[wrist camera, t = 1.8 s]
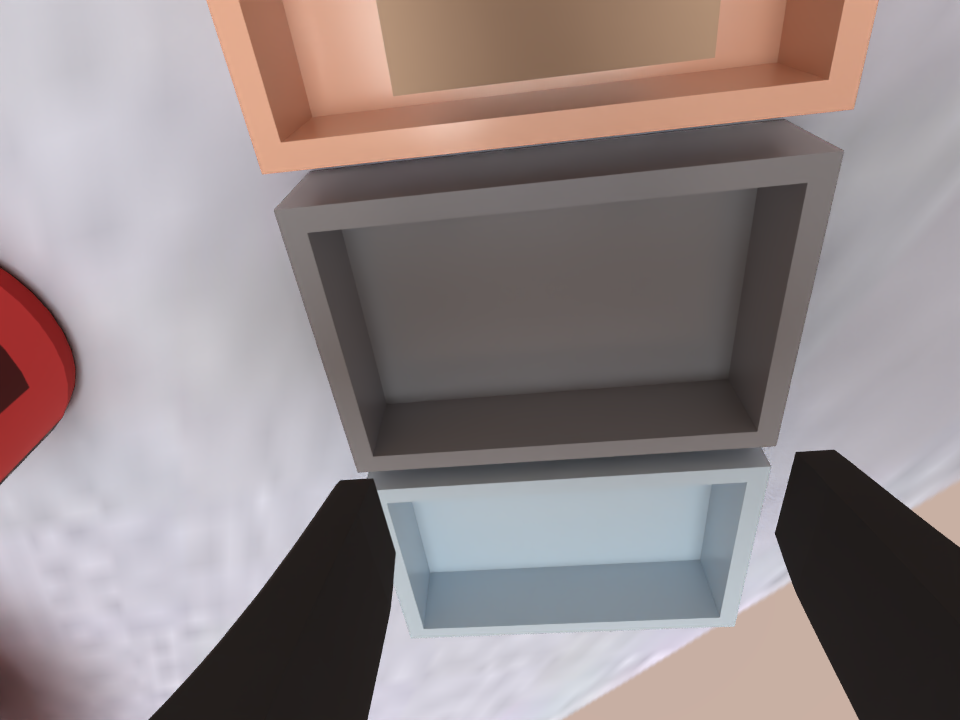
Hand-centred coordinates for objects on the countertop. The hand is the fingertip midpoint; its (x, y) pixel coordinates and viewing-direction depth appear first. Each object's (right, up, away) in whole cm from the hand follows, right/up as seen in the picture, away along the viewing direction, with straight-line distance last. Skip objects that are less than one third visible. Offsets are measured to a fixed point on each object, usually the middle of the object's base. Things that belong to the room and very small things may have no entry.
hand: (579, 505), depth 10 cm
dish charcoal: (0, +5, +7) cm, 8 cm away
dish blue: (+1, -3, +12) cm, 12 cm away
